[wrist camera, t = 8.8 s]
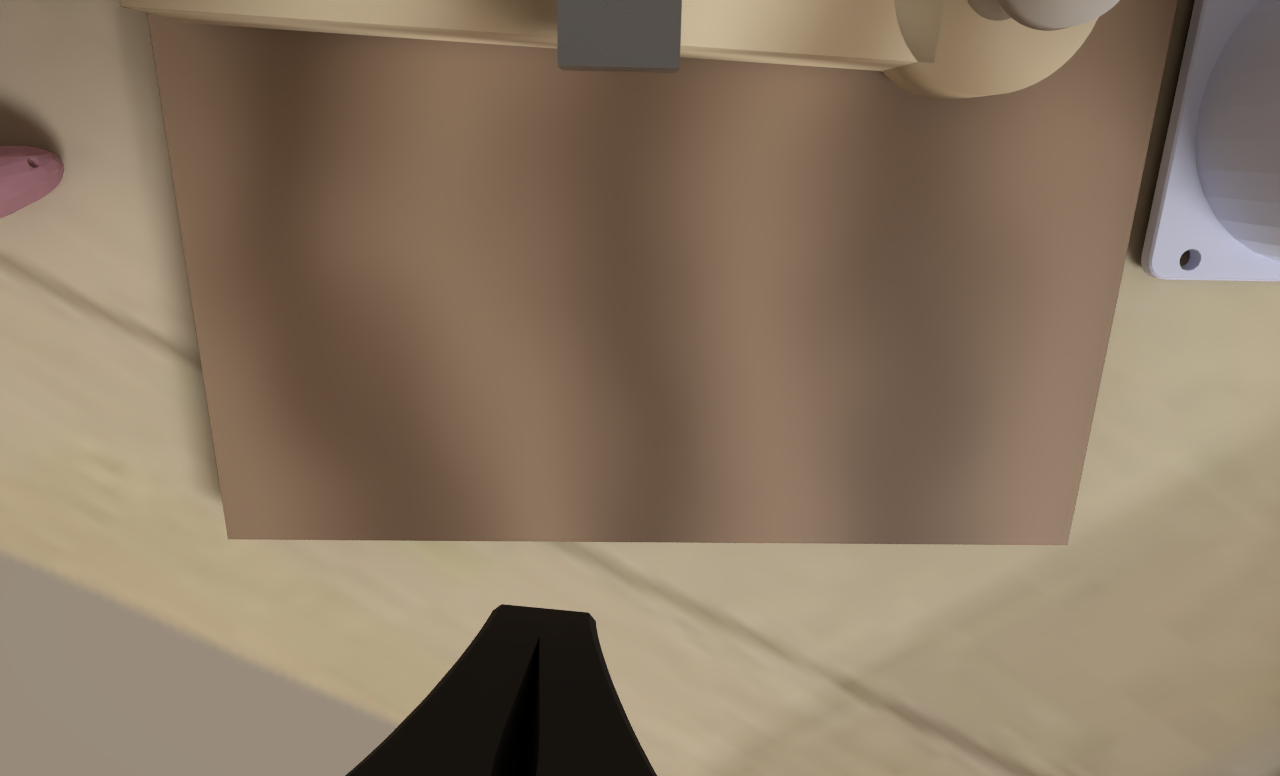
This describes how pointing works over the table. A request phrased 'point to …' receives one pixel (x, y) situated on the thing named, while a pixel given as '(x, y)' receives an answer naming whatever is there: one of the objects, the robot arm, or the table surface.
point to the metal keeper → (619, 35)
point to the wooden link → (736, 32)
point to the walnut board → (648, 288)
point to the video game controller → (26, 176)
